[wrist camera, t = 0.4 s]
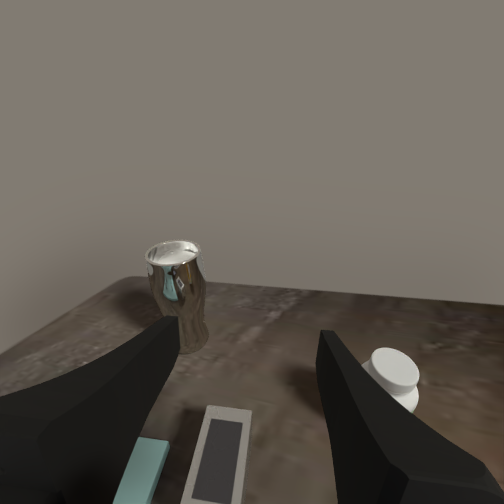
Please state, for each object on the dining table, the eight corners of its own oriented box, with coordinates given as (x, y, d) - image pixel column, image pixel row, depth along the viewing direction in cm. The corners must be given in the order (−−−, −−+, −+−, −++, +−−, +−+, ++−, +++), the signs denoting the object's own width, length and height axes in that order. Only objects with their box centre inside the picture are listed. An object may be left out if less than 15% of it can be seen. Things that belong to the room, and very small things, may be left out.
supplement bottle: (396, 463, 25) (430, 406, 20) (339, 432, 27) (358, 374, 22) (399, 412, 29) (428, 355, 24) (350, 390, 31) (368, 333, 26)
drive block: (239, 551, 20) (237, 530, 17) (185, 541, 20) (175, 519, 18) (252, 437, 27) (252, 410, 24) (211, 431, 27) (207, 404, 25)
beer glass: (181, 366, 34) (162, 273, 27) (156, 338, 38) (132, 251, 31) (221, 336, 38) (213, 250, 31) (194, 314, 42) (182, 234, 35)
